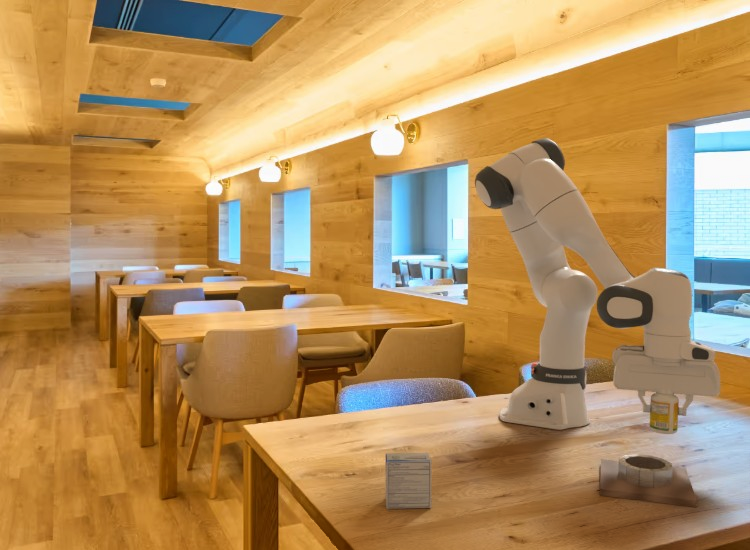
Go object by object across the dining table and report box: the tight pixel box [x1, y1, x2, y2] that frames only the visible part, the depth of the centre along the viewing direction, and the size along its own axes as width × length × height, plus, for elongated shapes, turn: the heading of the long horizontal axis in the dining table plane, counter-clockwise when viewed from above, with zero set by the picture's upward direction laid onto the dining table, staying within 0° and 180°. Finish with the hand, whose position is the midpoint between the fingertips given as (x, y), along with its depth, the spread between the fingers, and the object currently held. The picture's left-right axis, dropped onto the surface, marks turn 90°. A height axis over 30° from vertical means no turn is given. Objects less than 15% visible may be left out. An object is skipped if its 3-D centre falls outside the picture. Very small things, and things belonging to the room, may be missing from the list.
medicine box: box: [385, 452, 433, 510], centre depth 116 cm, size 8×4×9 cm, turn 92°
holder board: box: [599, 453, 698, 508], centre depth 126 cm, size 16×17×4 cm
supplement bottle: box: [649, 387, 680, 435], centre depth 137 cm, size 5×5×10 cm
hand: (664, 413), depth 137 cm, fingers closed on supplement bottle, 5 cm apart
